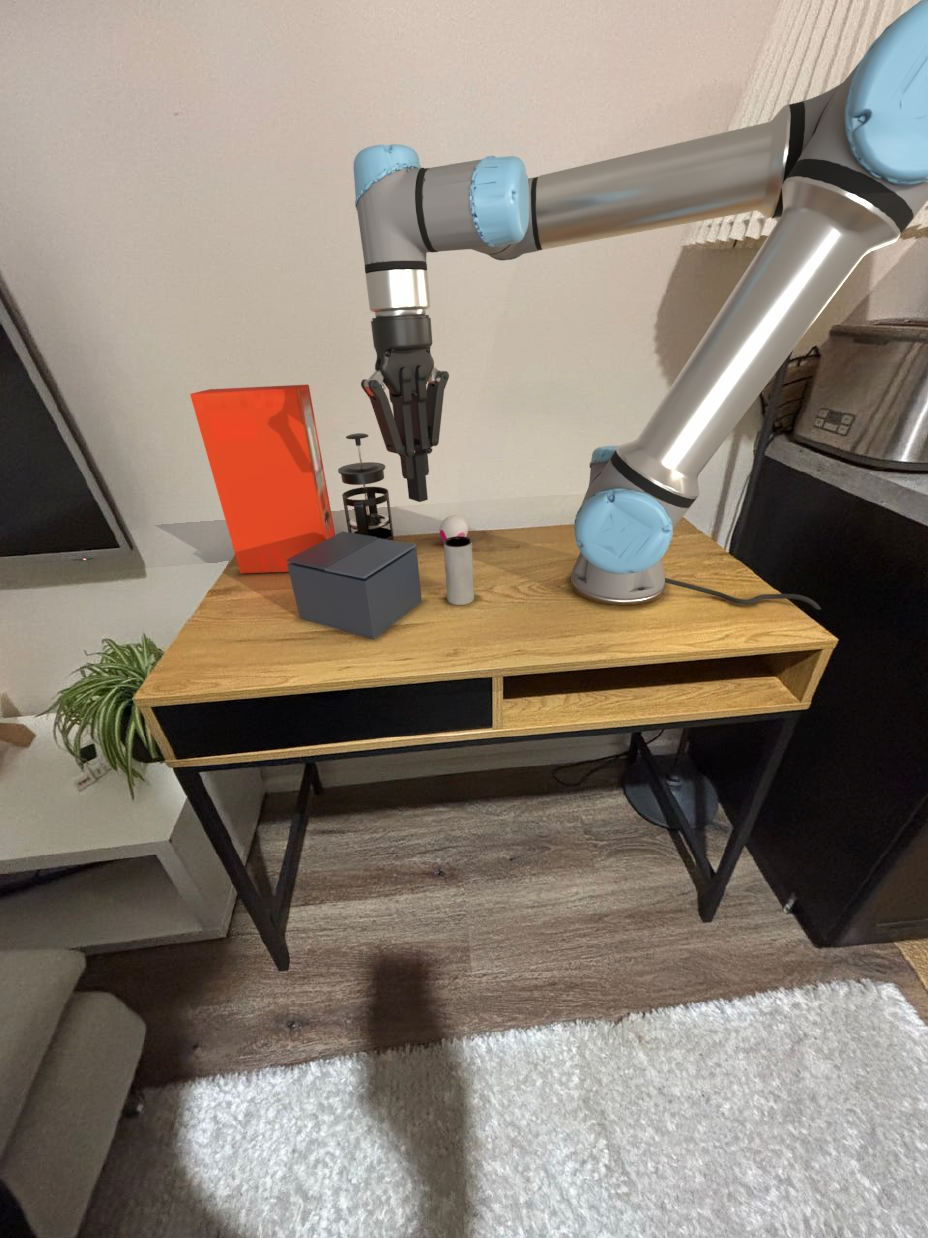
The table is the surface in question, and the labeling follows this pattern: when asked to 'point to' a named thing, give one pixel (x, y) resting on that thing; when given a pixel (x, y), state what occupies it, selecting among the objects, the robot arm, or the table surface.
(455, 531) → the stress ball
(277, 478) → the file binder
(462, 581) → the gray hollow cylinder
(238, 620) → the table surface
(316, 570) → the carton
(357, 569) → the flap
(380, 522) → the french press
